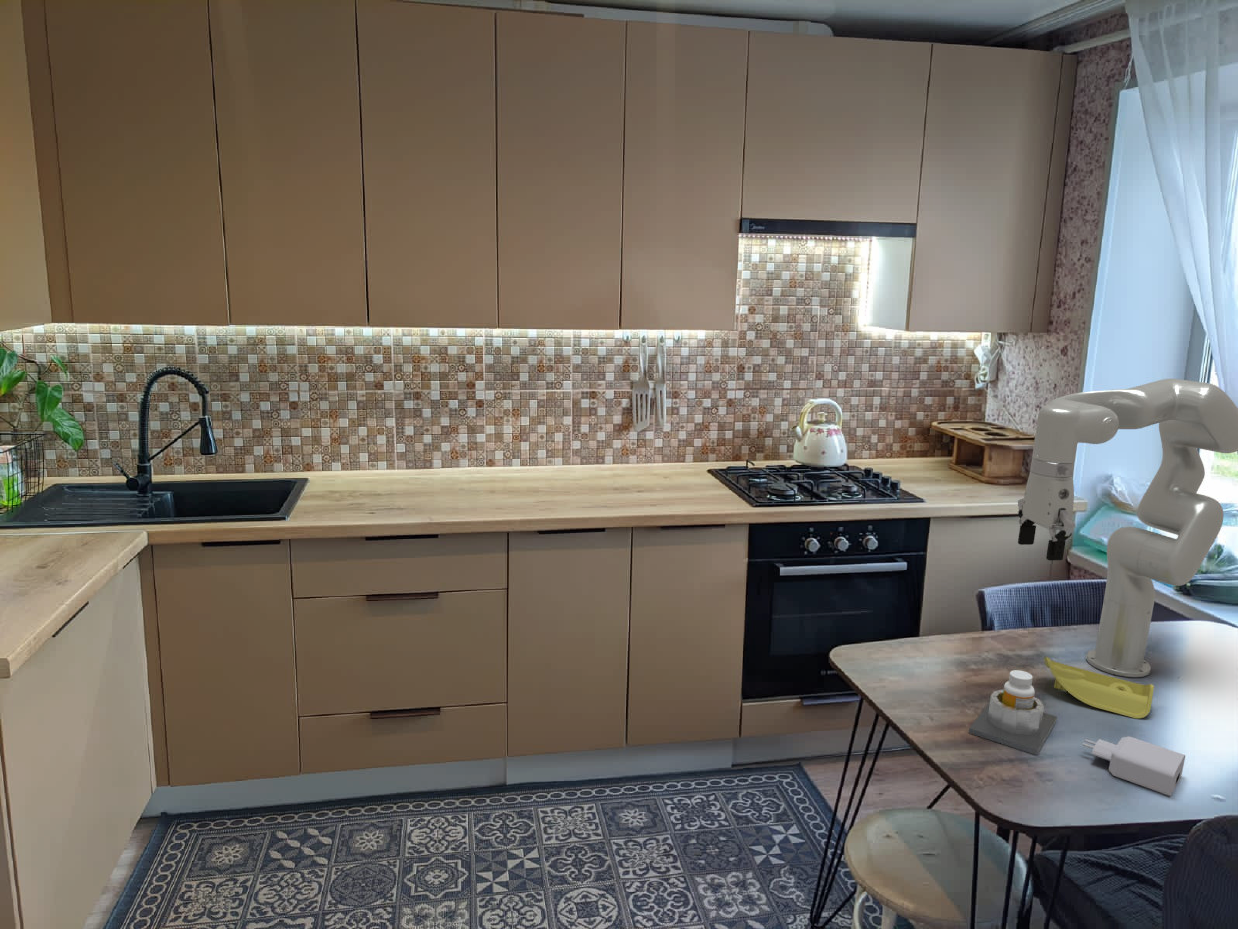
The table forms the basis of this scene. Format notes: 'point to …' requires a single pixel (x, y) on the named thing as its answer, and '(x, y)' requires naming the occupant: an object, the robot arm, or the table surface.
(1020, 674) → the supplement bottle
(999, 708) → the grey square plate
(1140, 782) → the charger
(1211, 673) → the table surface
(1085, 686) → the plastic component
